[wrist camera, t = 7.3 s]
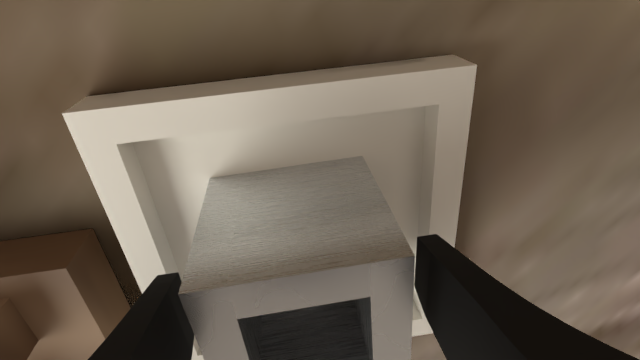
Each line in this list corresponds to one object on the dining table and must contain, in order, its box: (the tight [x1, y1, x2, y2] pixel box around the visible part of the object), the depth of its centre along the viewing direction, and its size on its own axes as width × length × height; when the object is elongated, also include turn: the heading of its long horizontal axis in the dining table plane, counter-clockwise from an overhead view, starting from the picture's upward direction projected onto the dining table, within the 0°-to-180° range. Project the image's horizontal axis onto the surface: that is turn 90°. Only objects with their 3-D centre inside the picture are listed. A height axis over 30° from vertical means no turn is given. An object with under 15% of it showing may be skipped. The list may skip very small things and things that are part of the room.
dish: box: [62, 54, 477, 360], centre depth 13 cm, size 11×11×2 cm
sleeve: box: [178, 156, 415, 360], centre depth 11 cm, size 5×5×5 cm
